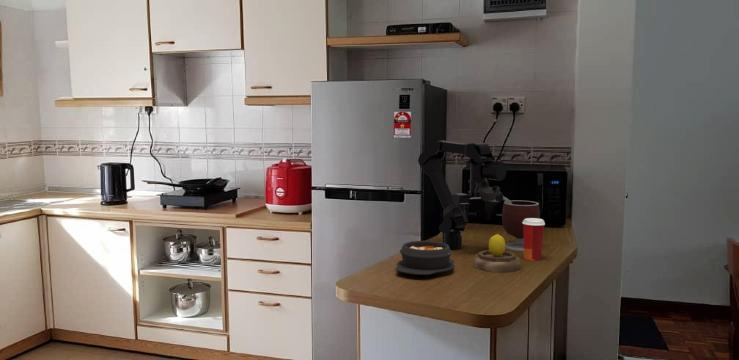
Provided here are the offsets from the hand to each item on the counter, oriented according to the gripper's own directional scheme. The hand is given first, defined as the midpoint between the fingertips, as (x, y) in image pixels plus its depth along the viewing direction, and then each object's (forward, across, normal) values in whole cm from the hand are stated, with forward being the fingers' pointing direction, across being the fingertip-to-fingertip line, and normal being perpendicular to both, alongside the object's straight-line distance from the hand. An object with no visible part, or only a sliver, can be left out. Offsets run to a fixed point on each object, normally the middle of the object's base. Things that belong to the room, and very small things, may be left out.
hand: (477, 220), depth 229 cm
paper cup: (+12, +14, -15) cm, 23 cm away
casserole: (+12, -29, -14) cm, 34 cm away
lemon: (+9, -4, -18) cm, 21 cm away
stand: (+12, -4, -19) cm, 23 cm away
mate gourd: (+12, +21, +3) cm, 24 cm away
